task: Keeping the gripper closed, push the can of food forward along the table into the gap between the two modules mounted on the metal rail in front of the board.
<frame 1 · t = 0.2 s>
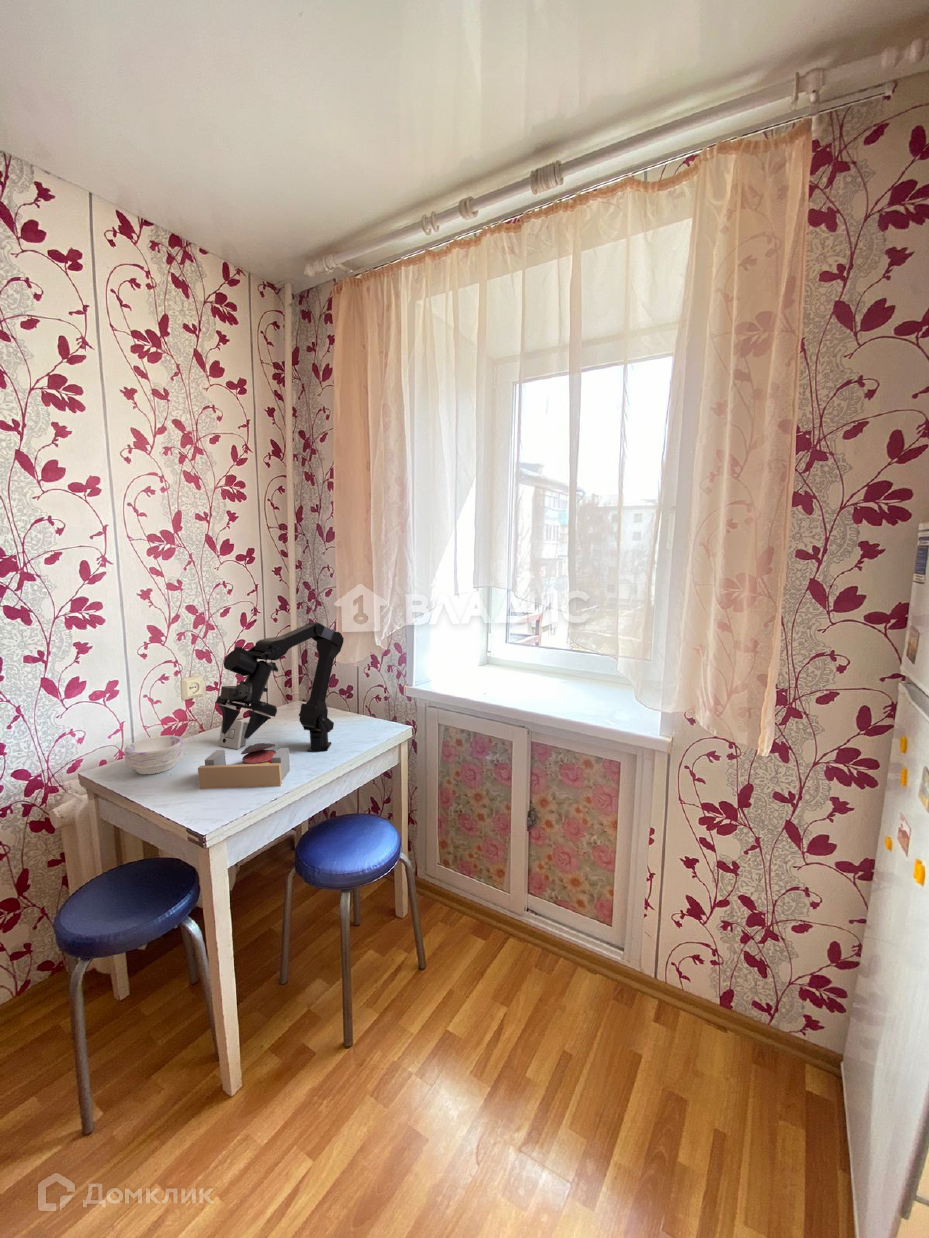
hand: (234, 735, 135), 15 cm above the table, tool tilted 30°, fingers open, 9 cm apart
paper bowls: (157, 768, 150), on the table
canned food: (260, 765, 151), on the table
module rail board: (248, 777, 142), on the table
electrical switch: (234, 745, 167), on the table
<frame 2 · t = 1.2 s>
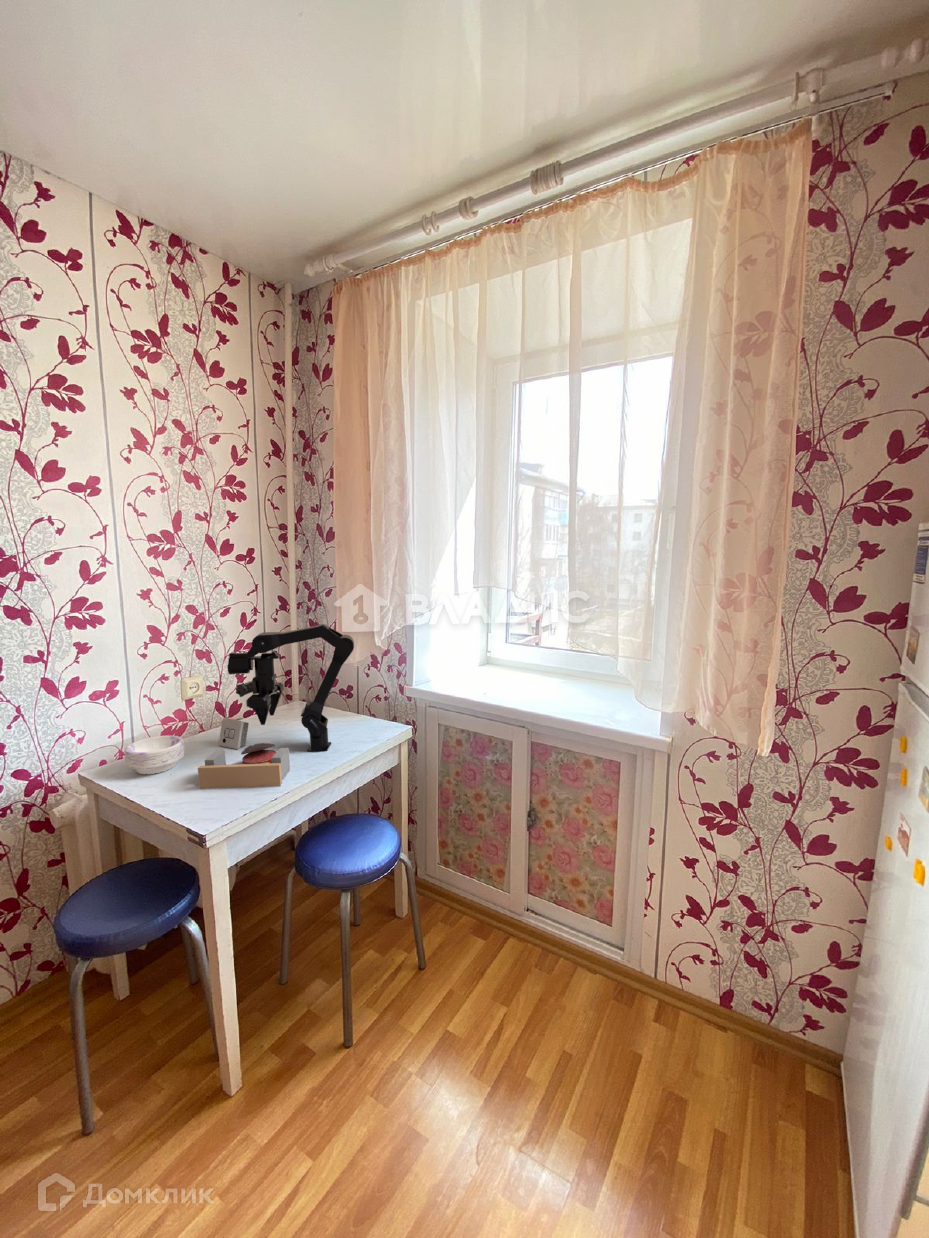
hand: (267, 719, 159), 11 cm above the table, tool pointing down, fingers open, 9 cm apart
nothing on the table moved.
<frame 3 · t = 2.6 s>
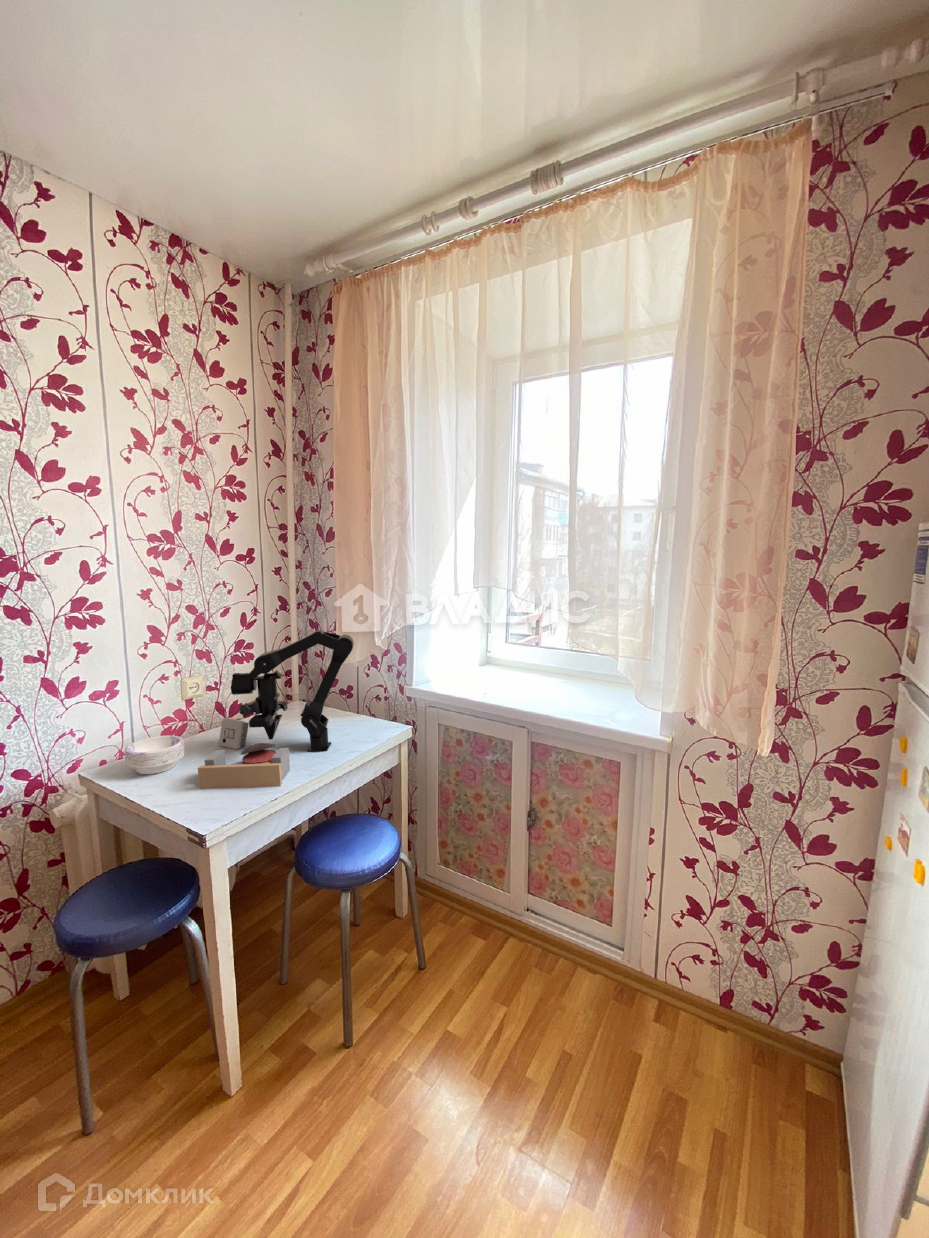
hand: (271, 738, 160), 4 cm above the table, tool pointing down, fingers closed
nothing on the table moved.
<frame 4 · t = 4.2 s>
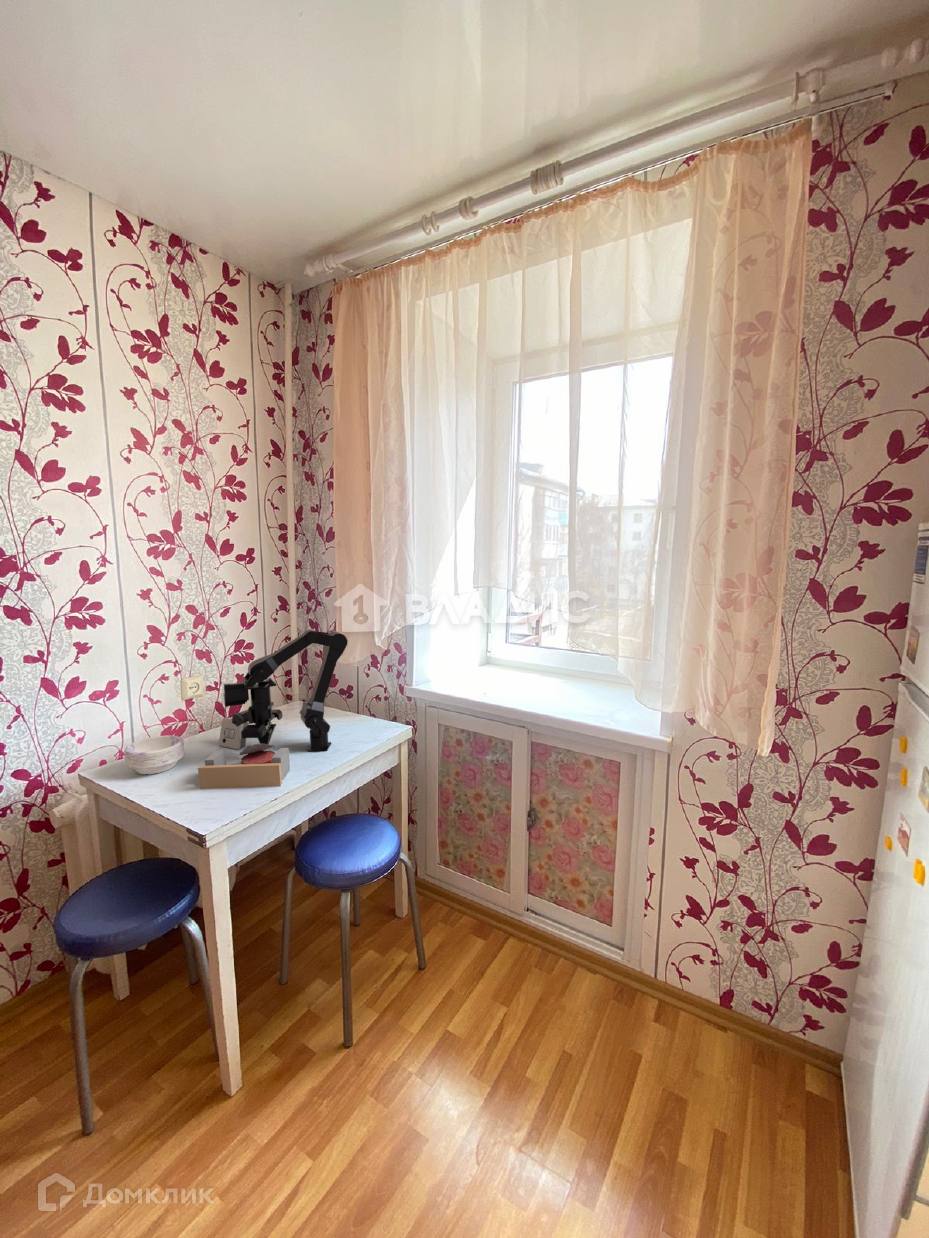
hand: (264, 749, 155), 3 cm above the table, tool pointing down, fingers closed
nothing on the table moved.
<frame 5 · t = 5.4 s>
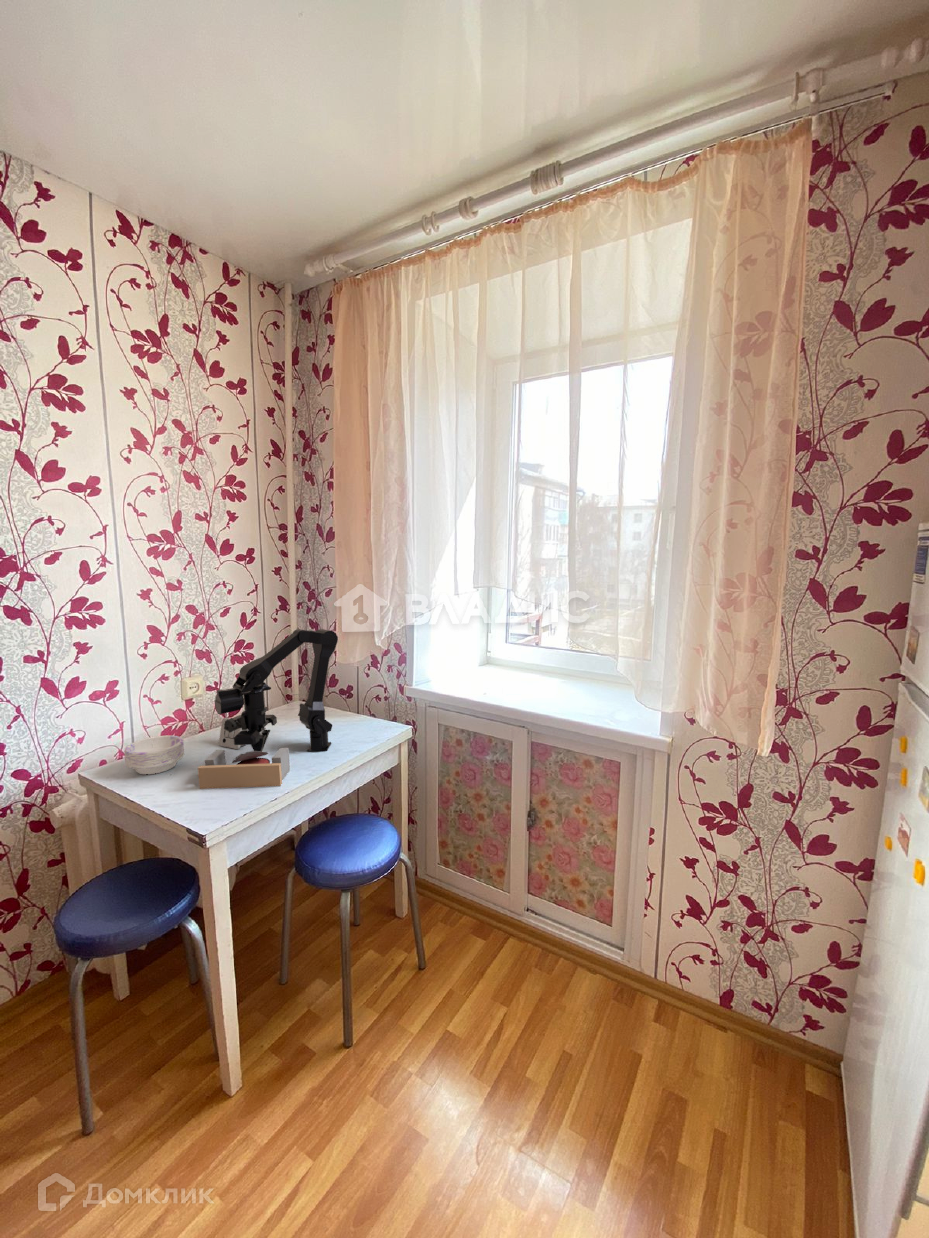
hand: (258, 756, 150), 3 cm above the table, tool pointing down, fingers closed
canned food: (252, 774, 145), on the table
everything else where it was.
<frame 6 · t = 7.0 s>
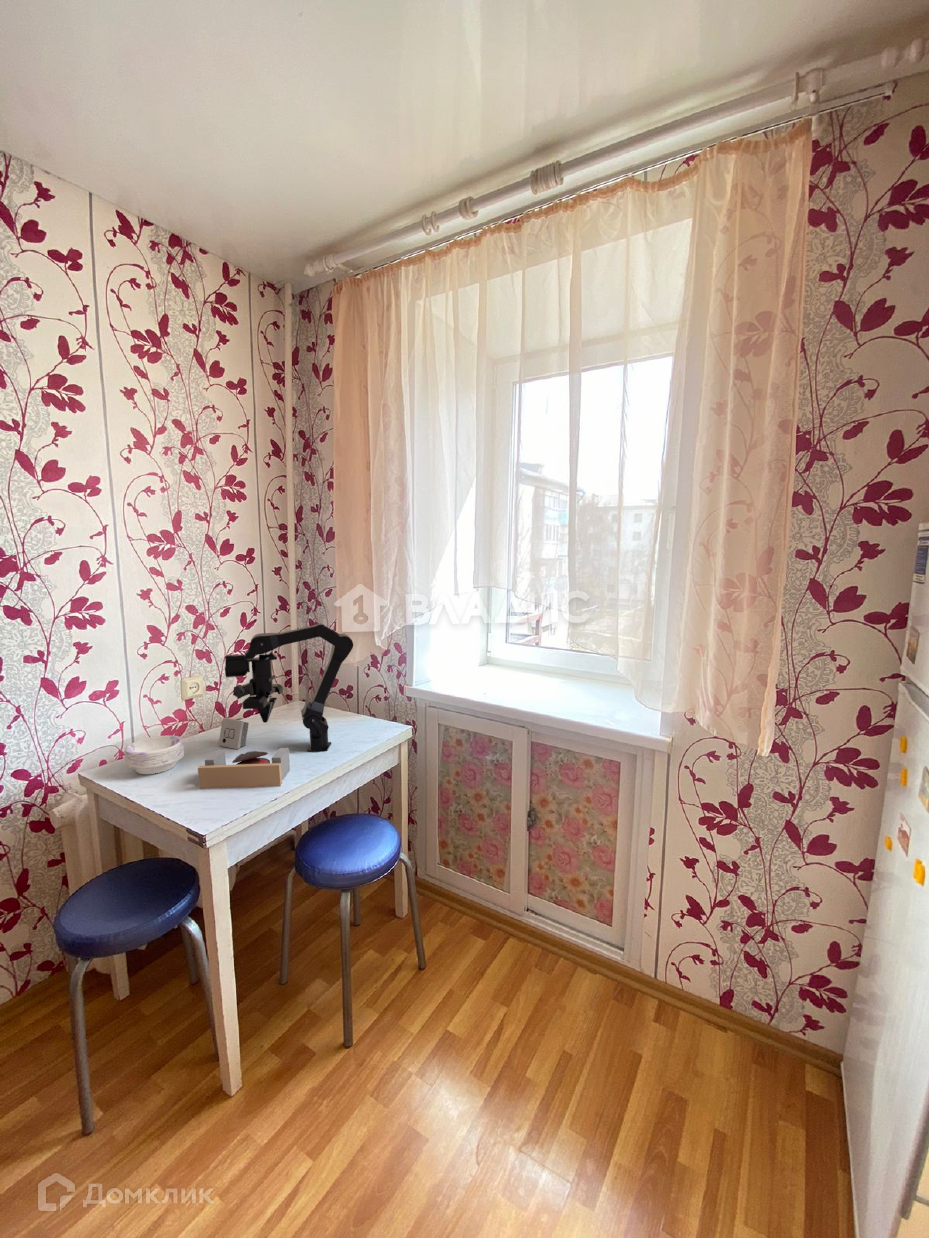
hand: (265, 722, 156), 11 cm above the table, tool pointing down, fingers closed
nothing on the table moved.
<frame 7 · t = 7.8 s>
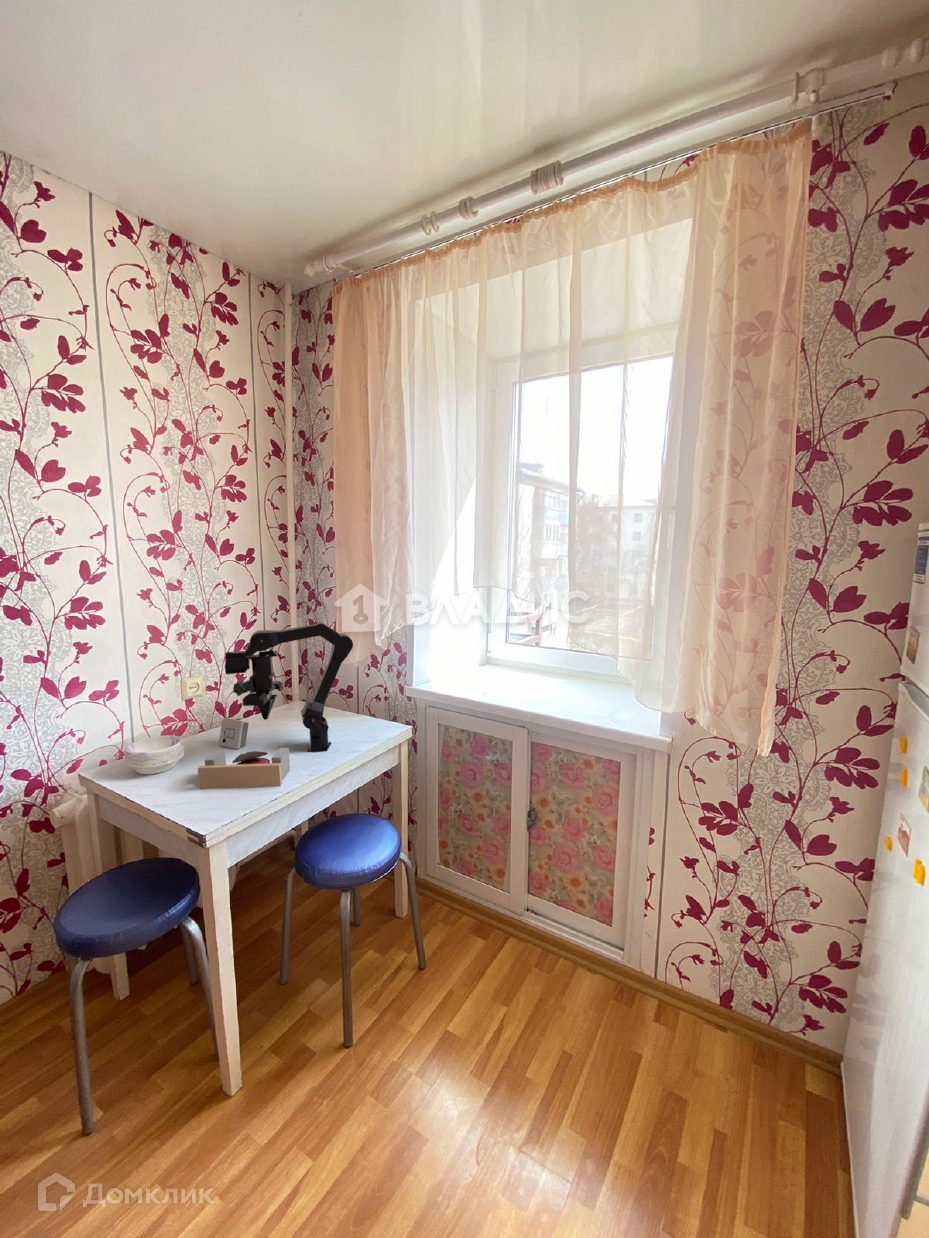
hand: (265, 719, 156), 12 cm above the table, tool pointing down, fingers closed
nothing on the table moved.
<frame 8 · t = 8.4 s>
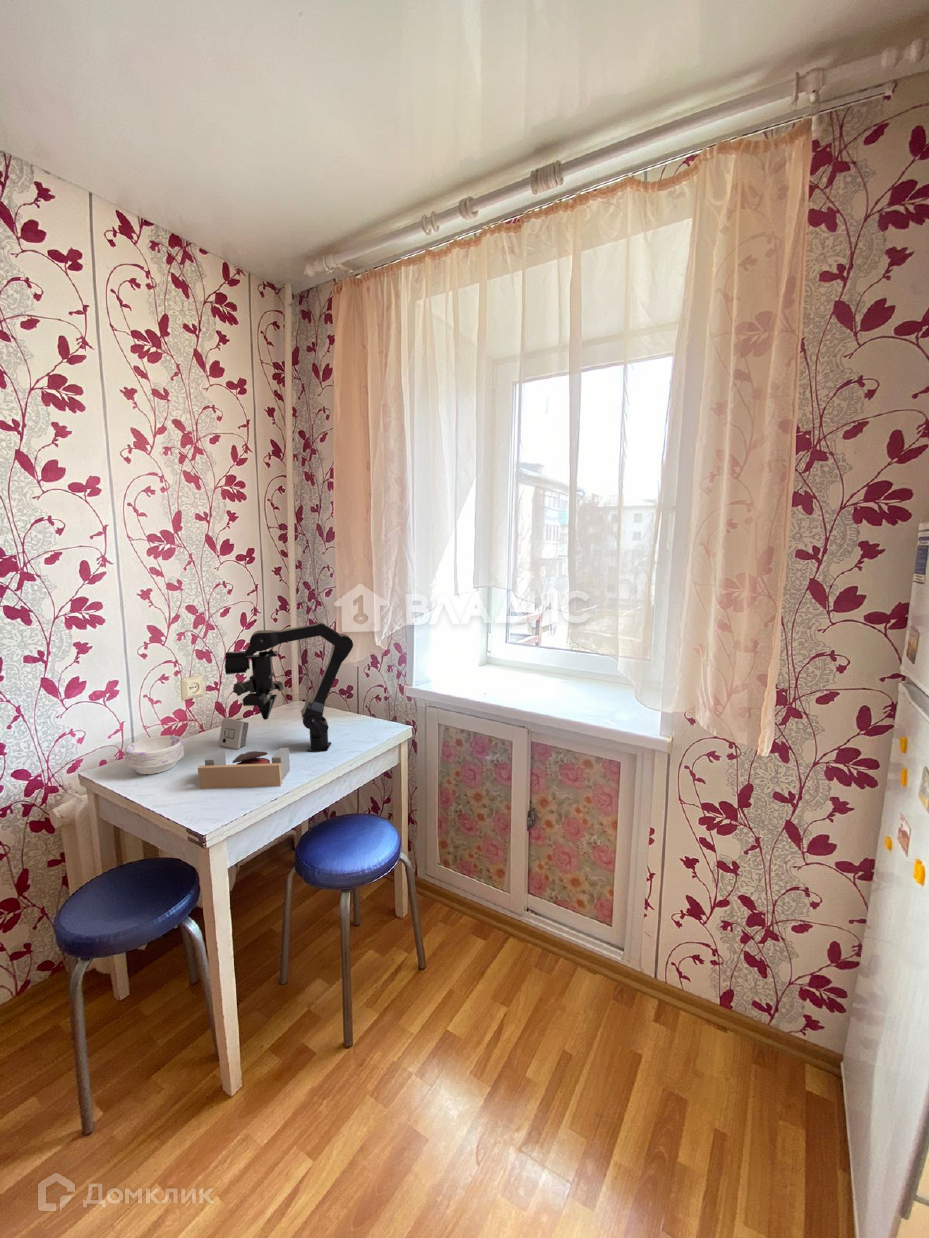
hand: (265, 719, 156), 12 cm above the table, tool pointing down, fingers closed
nothing on the table moved.
at the end: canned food inside the target area (1.0 cm from its centre), on the table; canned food tilted 0° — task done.
